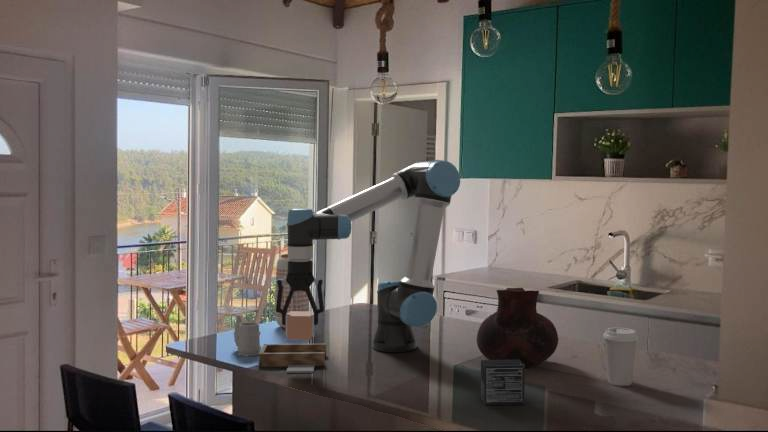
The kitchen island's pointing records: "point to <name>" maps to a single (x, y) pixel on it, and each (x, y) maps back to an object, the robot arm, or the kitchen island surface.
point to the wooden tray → (292, 354)
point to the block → (299, 325)
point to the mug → (247, 337)
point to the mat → (300, 368)
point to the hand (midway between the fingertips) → (300, 335)
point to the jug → (517, 330)
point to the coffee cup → (620, 355)
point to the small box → (502, 382)
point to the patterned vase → (298, 298)
